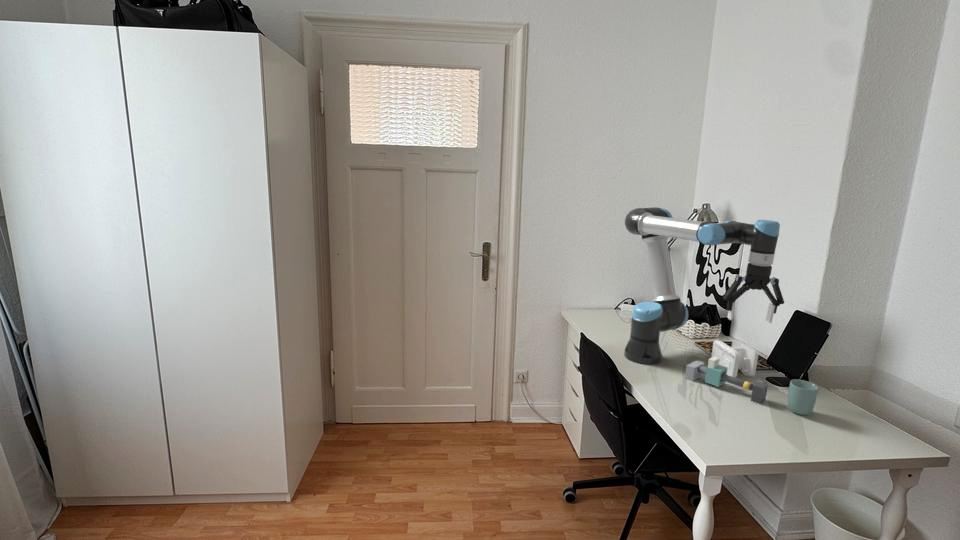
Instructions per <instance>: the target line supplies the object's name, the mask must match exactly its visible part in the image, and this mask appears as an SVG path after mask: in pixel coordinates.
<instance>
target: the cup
mask: <svg viewBox="0 0 960 540" xmlns="http://www.w3.org/2000/svg"><path fill="white" fill-rule="evenodd" d="M818 393H819V387H818V386H817V384H815V383H813V382H810V381H807V380H804V379H795V378H794V379H791V380H790V381H789V387H788V391H787V400H786V403H787V406H788V409H789V410H790V411H791V412H793V413H794V414H796V415H800V416H801V415H802V416H808V415H810V414H812V412H813V411H814V409H815V406H816V403H817V397H818Z"/></svg>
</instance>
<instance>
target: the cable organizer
mask: <svg viewBox="0 0 960 540" xmlns="http://www.w3.org/2000/svg"><path fill="white" fill-rule="evenodd" d="M714 356H715V357H718V358H720V359H719V365H721V366H724V367H727V368H728V369H727V375H728V376H731V377H734V378H737V377H738V371H740V372H741V374H743V375H745V376H746V375H747V376H746V377H748V376H749V377H754V376H756V371H757V365H758V360H759V352H758V350H757V349H755V348H753V347H752V346H750V345H749V344H746V343H745V342H743V341H741V340H739V339H733V340H732V342H731V346H729V345H728V344H727V343H725V342H723V341H722V340H719V339H718V340H714V341H713V343H712V350H711V356H710V358H712V357H714Z"/></svg>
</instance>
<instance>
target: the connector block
mask: <svg viewBox="0 0 960 540" xmlns="http://www.w3.org/2000/svg"><path fill="white" fill-rule="evenodd" d="M753 384H754V385H753V389H752V391H751V396H750V401H751V402H752V401H753V402H752V403H755V402H756V403H755V404H758V403H759V405H760V404H762V403H764V402H765V401H766V400H767V394H768V388H769V384H768V383H765V382H763V381H759V380H758V381H757V382H756V383H753Z"/></svg>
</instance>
